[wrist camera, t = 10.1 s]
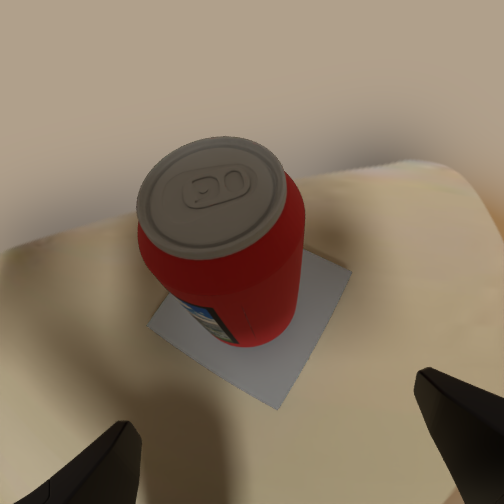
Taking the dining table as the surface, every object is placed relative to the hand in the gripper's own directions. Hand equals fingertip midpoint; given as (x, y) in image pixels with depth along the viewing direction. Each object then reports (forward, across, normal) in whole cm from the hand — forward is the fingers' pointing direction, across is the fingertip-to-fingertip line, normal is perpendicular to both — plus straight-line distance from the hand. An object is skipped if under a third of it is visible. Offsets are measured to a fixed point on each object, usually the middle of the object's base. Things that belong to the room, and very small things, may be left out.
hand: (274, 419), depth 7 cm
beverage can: (+13, +1, +2) cm, 13 cm away
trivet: (+14, +1, +3) cm, 14 cm away
